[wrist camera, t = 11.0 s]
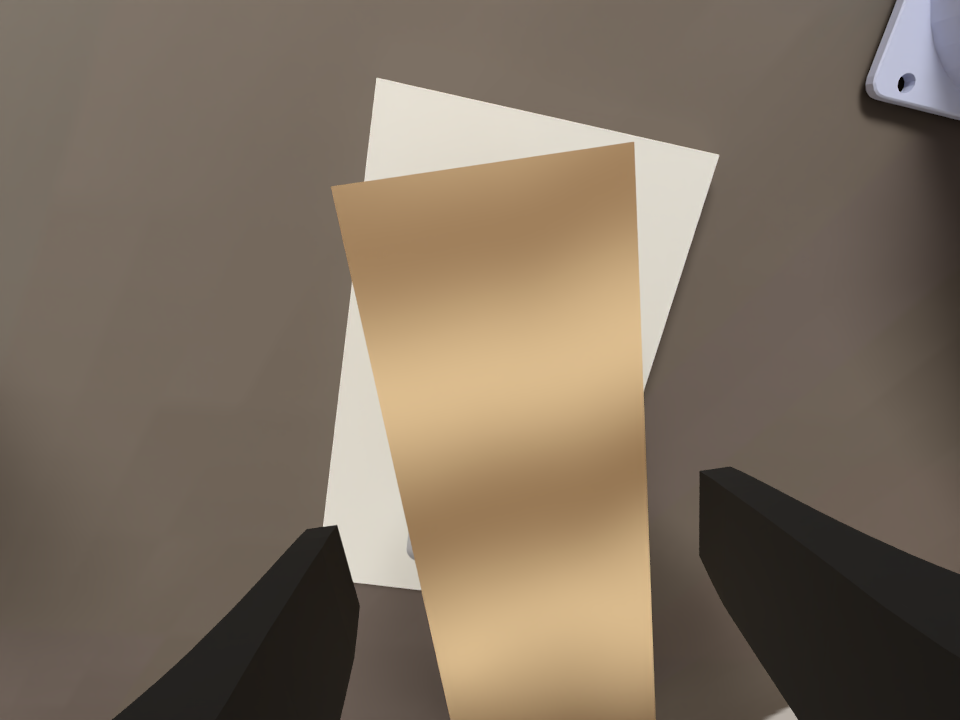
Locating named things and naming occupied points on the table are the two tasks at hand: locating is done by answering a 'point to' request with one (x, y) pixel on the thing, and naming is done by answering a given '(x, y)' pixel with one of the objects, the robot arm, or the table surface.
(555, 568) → the tan wooden block
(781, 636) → the robot arm
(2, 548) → the table surface
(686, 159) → the peg stand
